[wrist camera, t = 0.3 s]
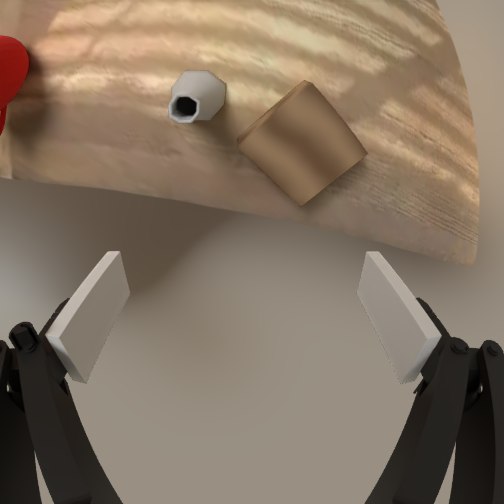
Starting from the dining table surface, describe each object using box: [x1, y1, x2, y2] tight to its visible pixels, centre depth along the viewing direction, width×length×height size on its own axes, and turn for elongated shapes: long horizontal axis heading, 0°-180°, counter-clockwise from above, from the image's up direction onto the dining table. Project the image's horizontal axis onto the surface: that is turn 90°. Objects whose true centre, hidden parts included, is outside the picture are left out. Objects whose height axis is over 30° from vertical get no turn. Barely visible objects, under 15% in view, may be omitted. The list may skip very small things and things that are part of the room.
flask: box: [168, 70, 226, 124], centre depth 26 cm, size 7×7×10 cm
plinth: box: [237, 80, 368, 207], centre depth 33 cm, size 12×12×4 cm
